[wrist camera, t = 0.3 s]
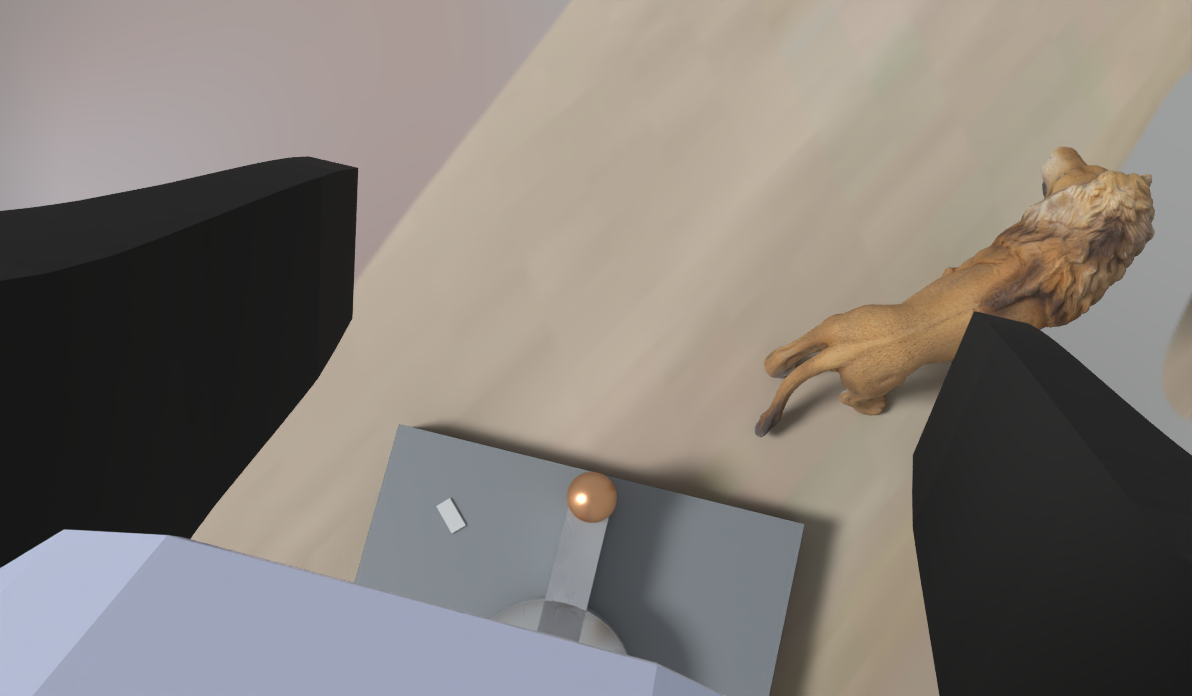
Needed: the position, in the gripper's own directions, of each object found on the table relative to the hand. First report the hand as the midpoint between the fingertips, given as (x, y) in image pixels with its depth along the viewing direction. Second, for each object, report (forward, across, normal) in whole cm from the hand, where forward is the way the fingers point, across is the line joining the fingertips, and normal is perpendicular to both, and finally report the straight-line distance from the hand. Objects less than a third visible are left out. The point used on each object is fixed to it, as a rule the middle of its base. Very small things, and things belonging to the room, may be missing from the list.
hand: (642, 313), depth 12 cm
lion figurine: (+27, -10, +13) cm, 32 cm away
